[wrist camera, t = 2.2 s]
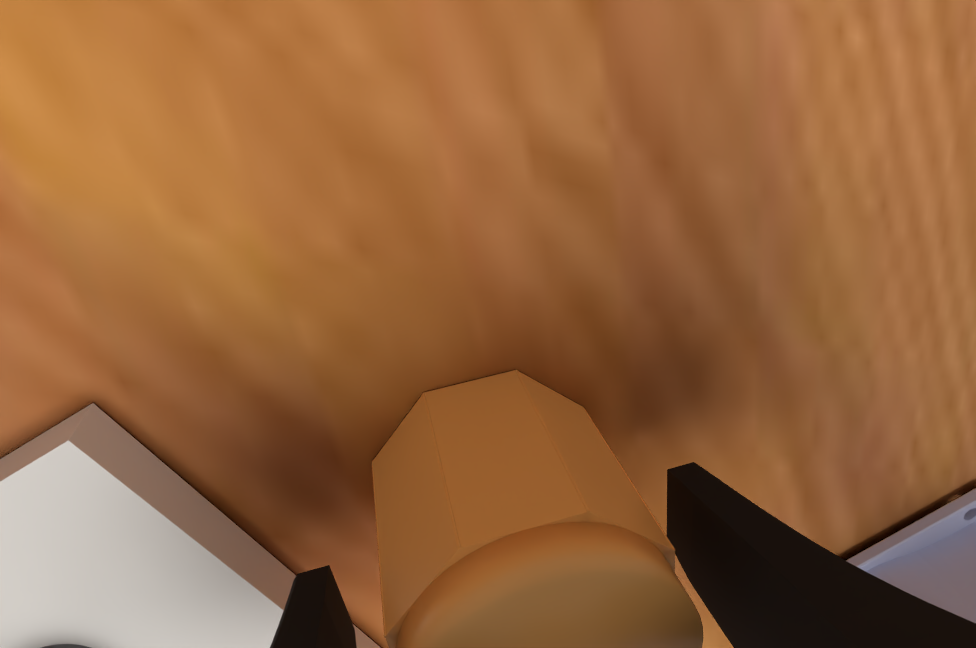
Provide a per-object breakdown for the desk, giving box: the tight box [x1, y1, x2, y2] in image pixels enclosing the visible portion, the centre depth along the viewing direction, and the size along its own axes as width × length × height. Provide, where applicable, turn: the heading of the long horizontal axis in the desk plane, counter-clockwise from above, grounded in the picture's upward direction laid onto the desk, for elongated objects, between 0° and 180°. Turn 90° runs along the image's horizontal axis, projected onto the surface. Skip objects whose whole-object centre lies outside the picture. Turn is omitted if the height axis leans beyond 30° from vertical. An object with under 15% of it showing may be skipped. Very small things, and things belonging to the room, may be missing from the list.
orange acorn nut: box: [372, 370, 703, 648], centre depth 12 cm, size 5×5×6 cm
